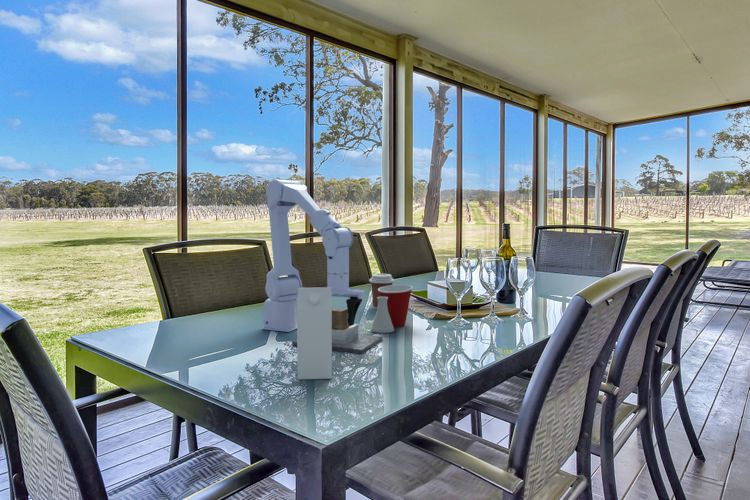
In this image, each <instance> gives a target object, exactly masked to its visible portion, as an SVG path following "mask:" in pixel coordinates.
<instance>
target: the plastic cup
mask: <svg viewBox="0 0 750 500" xmlns="http://www.w3.org/2000/svg"><path fill="white" fill-rule="evenodd" d="M413 288H414V286H412V285H410V284H392V285H389V286H384V287H380V288H378V291H379V293H380V295H381V297H388V300H387V308H388V312H389V315H390V319H391V322H392V324H393V327H394V328H402V327H405V325H406V322H407V316H408V313H409V307H410V299H411V294H412V290H413Z"/></svg>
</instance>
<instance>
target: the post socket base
mask: <svg viewBox="0 0 750 500" xmlns="http://www.w3.org/2000/svg"><path fill="white" fill-rule="evenodd" d="M383 339H384V337H383V336H379V335H373V334H371V335H370V334H360V333H359V324H358V323H354V324H353V325H351V326H349V325H348V328H347V329H345V330H339V329H332V351H337V352H344V353H345V352H346V353H353V354H358V355H359V354H360V355H362V354H364V353H365V352H368V351H369V350H370V349H371V348H373V347H375V346H376V345H377V344H379V343H380V342H382V341H383ZM291 342H292V343H291V346H296V347H297V338H296V339H295V340H292V341H291Z"/></svg>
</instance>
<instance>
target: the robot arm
mask: <svg viewBox="0 0 750 500" xmlns="http://www.w3.org/2000/svg"><path fill="white" fill-rule="evenodd" d="M265 191H266V200H267V201H266V202H267V208H268V214H269V216H268V217H269V226H270V238H271V250H272V260H273V262H272V263H273V267H272V268H271V270H270V271H268V273H267V274H266V275H265V276H266V282H265V287H264V289H265V294H266V295H267V297H268V298H267V299H265V301H264V302H263V307H262V315H263V316H262V321H263V324H262V327H261V330H266V331H267V330H268V331H276V332H283V333H285V332H286V333H289V332H293V331H294V330H297V300H298V288H303V282H302V280H301V277H300V271H299V270H298V269H297V268H295V267H294V266H293V263H292V252H291V251H292V249H291V241H290V240H291V239H290V227H289V215H288V214H289V212H290V211H291V210H293V208H295V207H296V206H298V207H299V208H300V209H301V210H302V211H304V213H305V214H307V216H308V217H309V218H310V219H309V223H310V225H311V226H312V227H313V229H314V230H315V231H316V232H317V233H318V234H319V235H320V237H321V241H322V245H323V247H324V252H325V253H324V254H325V256H326V262H327V263H326V264H327V265H326V268H327V269H326V270H327V271H326V272H327V273H326V275H327V277H326V278H327V280H326V282H327V283H326V285H327V286H326V287H331V297H334V298H335V297H337V298H338V297H339V298H347V299H346V300H345V302H346V307H347V308H346V309H348V325H349V326H351V325H353V324H355V320H356V316H357V313H358V310H359V307H360V306H361V304H362V302H363V299H365V290H363V289H362V290H360V289H356V288H355V289H353V288H350V287H349V286H350V273H349V271H350V250H349V249H350V248H351V247H352V246H353V243H354V234H353V231H352V230H351V229H350V227H348V226H343V225H341V224H340V222H338V221H337V220H336V218H334V216H333V215H332V214H331V211H330V210H328V209H325V208H320V207H319V206H318V204H317V203H316V202H315V200H314V199H313V198H312V197H311V195H310V194H309V192H308V187H307V186H306V185H305V183H304V182H303V181H302V180H287V179H276V178H275V179H272V180H270V182H269V184H268V185H267V186H266V189H265ZM314 288H322V287H317V286H316V287H314Z"/></svg>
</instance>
